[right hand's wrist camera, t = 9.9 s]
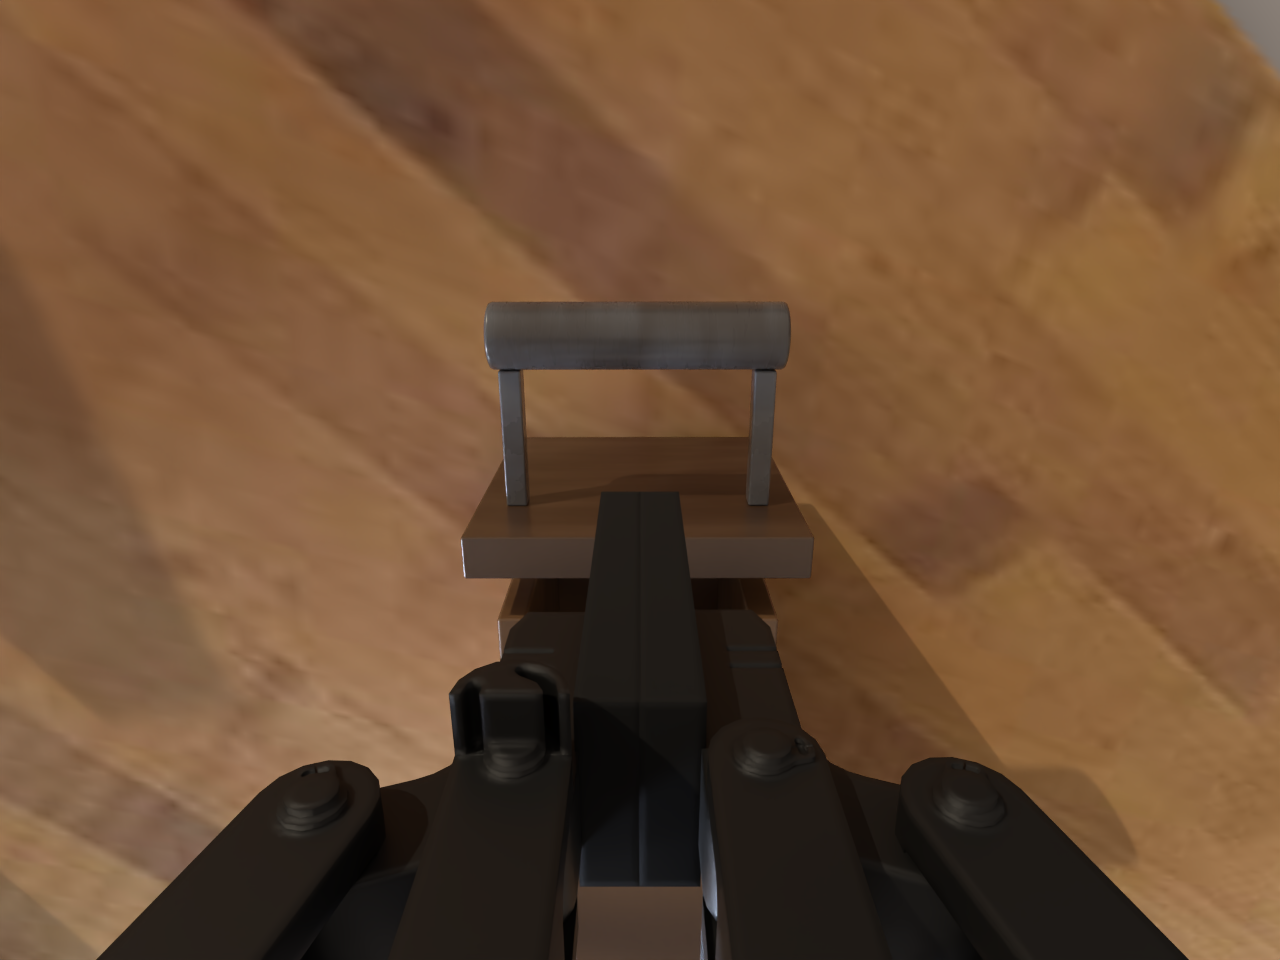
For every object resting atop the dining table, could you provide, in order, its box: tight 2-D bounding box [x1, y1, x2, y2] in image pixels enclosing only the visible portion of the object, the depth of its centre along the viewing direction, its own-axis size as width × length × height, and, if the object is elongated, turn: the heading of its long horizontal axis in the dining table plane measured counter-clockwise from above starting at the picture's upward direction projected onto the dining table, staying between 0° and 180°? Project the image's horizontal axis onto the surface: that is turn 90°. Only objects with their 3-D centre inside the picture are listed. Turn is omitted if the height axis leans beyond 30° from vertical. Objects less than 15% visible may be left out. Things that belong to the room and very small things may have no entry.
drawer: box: [461, 302, 814, 660], centre depth 26 cm, size 24×9×9 cm, turn 0°
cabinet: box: [576, 879, 703, 960], centre depth 30 cm, size 19×10×11 cm, turn 0°
